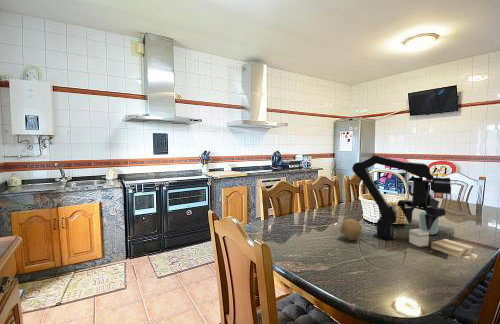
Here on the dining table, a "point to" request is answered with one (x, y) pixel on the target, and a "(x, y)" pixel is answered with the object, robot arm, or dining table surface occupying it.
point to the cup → (423, 224)
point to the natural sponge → (350, 229)
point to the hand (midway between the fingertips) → (418, 226)
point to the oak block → (452, 247)
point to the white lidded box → (419, 237)
